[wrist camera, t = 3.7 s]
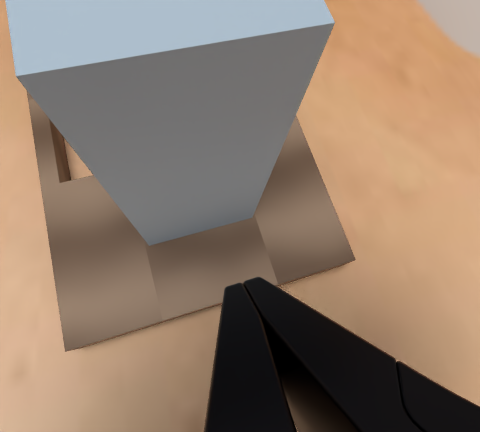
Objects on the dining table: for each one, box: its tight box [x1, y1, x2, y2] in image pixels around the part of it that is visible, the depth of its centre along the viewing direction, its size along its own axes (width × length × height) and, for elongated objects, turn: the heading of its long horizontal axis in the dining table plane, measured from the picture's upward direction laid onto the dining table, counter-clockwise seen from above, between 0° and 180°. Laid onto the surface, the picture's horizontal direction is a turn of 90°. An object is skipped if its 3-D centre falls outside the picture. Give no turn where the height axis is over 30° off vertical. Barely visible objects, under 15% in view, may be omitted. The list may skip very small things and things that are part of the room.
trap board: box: [27, 91, 355, 352], centre depth 19 cm, size 24×16×7 cm, turn 17°
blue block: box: [5, 0, 335, 246], centre depth 13 cm, size 6×6×13 cm
